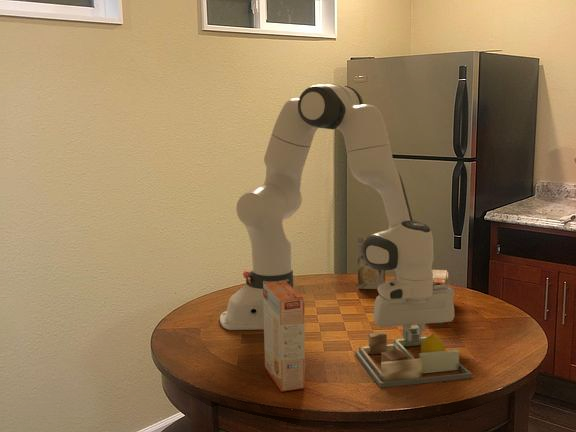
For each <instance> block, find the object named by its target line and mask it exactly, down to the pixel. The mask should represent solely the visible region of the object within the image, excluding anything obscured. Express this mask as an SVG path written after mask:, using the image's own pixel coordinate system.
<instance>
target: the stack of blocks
mask: <svg viewBox="0 0 576 432" xmlns="http://www.w3.org/2000/svg"><path fill="white" fill-rule="evenodd" d="M432 272H433V285H449V283H450V282H449V272H448V269H447V270H446V269H432ZM449 286H450V285H449ZM444 323H445V322H438V323H437V324H442V325H443V324H444Z"/></svg>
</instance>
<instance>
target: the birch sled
mask: <svg viewBox="0 0 576 432" xmlns="http://www.w3.org/2000/svg"><path fill="white" fill-rule="evenodd" d="M358 347H359V348H358V352H359V353H360V354H361V356H362V357H363V358H364V359H365V361H366V362H367V363H368V365H369V366H370V367H371V369H372V370H373V371H374V372H375V374H376V375H377V376H378V378H379V379H380V380H381V382H386V381H396V380H405V379H415V378H423V373H422V359H421V358H419V357H418V358H415V359H409V358H408V360H398V361H388V362H381V361H380V368H379V367H378V366H377V364H376V363H375V362H374V361H373V359H372V358H371V356H370V355H375V354H381V353H382V352H388V351H393V350H400V349H399V348H398V347H397V346H396V345H395V344H394V343H388V335H387V334H386V333H385V332H374V333H368V345H366V346H358ZM400 351H401V350H400ZM401 352H402V351H401ZM402 353H403V352H402ZM369 354H370V355H369Z"/></svg>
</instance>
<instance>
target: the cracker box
mask: <svg viewBox="0 0 576 432" xmlns="http://www.w3.org/2000/svg"><path fill="white" fill-rule="evenodd" d="M263 302H264V329H263V337H264V338H263V339H264V368H265V370H266V371H267V373H268V374H269V376H270V378H271V379H272V381H273V382H274V383H275V385H276V386H277V387H278V389H279V390H280V392H282V393H283V392H289V391H297V390H303V389H306V359H305V356H306V354H305V353H306V347H305V346H306V345H305V344H306V343H305V341H306V340H305V339H306V338H305V332H306V331H305V297H304V296H303V295H302V294H300V292H299V291H298V290H296V289H295V288H294V287H293V288H292V287H291V286H290V285H289V284H288V283H287V282H286V281H280V282H272V283H264V284H263Z"/></svg>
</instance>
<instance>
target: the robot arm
mask: <svg viewBox="0 0 576 432" xmlns="http://www.w3.org/2000/svg"><path fill="white" fill-rule="evenodd" d="M363 100H364V99H363V98H362V96H361V94H360V93H359V92H358V91H357V90H356V89H354V88H353V87H351V86H347V85H342V84H335V83H330V84H320V83H319V84H314V85H311V86H309V87H307V88H305V89H304V90H303V91H302V93H301V94H300V96H299V97H294V98H290V99H288V100H287V101H285V103H284V105H283V106H282V108H281V110H280V112H279V114H278V116H277V118H276V120H275V124H274V125H273V129H272V132H271V135H270V138H269V141H268V145H267V148H266V151H265V154H264V159H263V161H264V164H265V169H266V170H265V179H264V183H263V184H262V185H260V186H256V187H253V188H251V189H248V190H247V191H246V192H245V193H244V194H243V195H241V196H240V197H239V198H238V200H237V202H236V208H235V209H236V214H237V218H238V219H239V221H240V222H241V223H242V224H243V225H244V226H245V228H246V231H247V235H248V236H249V240H250V244H251V257H252V260H251V262H252V270H251V271H249V270H246V269H245V270H244V271H243V272H242V275H243V278H245V285H244V286H242V288H239V290H238V291H236V292H235V293H234V294H232V295H231V296H230V298H229V300H228V304H227V308H226V310H225V311H223V312H221V314H220V315H219V322H220V323H219V324H220V326H221V327H222V328H223V329H225V330H228V331H248V330H249V331H250V330H251V331H252V330H255V331H256V330H257V331H258V330H264V302H263V284H264V283H272V282H280V281H286V282H287V283H288V284H289V285H290V286H291V287H292V288H294V286H295V279H294V278H295V277H294V275H295V274H294V270H293V269H292V243H291V242H290V241H289V239H287V237H286V234H285V230H284V226H283V225H284V224H283V220H287V219H289V218H291V217H292V216H293V215H294V214H295V213H296V212H297V211H298V210H299V209H300V207H301V206H302V203H303V202H302V201H303V199H302V192H301V184H302V175H303V171H304V168H305V165H306V162H307V158H308V154H309V153H310V148H311V146H312V143H313V140H314V138H315V134H316V132H317V130H319V129H325V130H332V131H333V130H335V129H336V130H338V131H340V132H341V134H342V136H343V139H344V145H345V150H346V157H347V158H346V159H347V163H348V167H349V170H350V172H351V175H352V176H353V177H354V178H355V179H356V180H357V181H359V182H360V183H361V184H363V185H366V186H368V187H371V188H372V189H375V191H376V192H378V194H379V195H380V196H381V199H382V202H383V205H384V209H385V214H386V217H387V221H388V229H386V230H382V231H378V232H376V233H372V234H371V235H369V236H367V237H366V239H365V241H364V243H363V246H362V254H363V258H364V260H365V262H366V263H367V265H368V266H369V267H371V268H372V269H374V270H385V271H390V270H391V271H392V270H393V271H395V273H396V277H395V278H393V279H390V280H387V281H385V283H383V284H380V285H379V286H378V289H377V292H378V296H376V298H375V300H374V306H373V322H374V323H375V324H376V325H377V326H378V327H379V328H391V327H399V326H402V328H403V327H404V329H405V330H406V332H407V339H408V341H419V340H421V337H422V334H423V332H424V330H425V328H426V325H427V324H439V323H438V322H444V323H447V322H453V320H454V319H455V304H454V298H455V290H454V287H452V286H450V285H433V272H432V270H433V269H432V266H433V262H434V253H435V252H434V237H433V232H432V230H431V227H430V226H429V225H427V224H426V223H424V222H421V221H416V220H414V219H413V217H412V211H411V209H410V204H409V201H408V197H407V193H406V189H405V186H404V183H403V179H402V176H401V174H400V172H399V170H398V169H397V167H396V163H395V161H394V158H393V154H392V153H393V152H392V149H391V142H390V138H389V133H388V129H387V126H386V122H385V119H384V117H383V113H382V112H381V110H380V109H379V107H377V106H376V105H372V104H369V103H368V104H367V103H366V104H365V103H364V102H363ZM417 325H418V328H417V330H416V332H410V330H409V329H411V326H417Z"/></svg>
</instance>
